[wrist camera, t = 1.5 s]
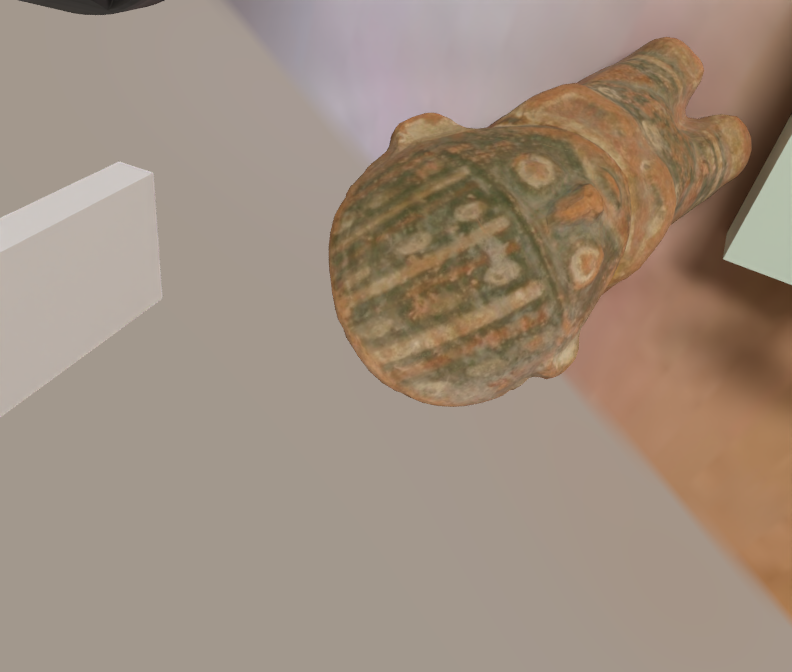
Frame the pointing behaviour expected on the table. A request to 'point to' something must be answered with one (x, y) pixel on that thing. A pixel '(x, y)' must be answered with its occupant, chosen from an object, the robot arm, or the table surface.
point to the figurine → (520, 225)
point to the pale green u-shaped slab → (766, 217)
